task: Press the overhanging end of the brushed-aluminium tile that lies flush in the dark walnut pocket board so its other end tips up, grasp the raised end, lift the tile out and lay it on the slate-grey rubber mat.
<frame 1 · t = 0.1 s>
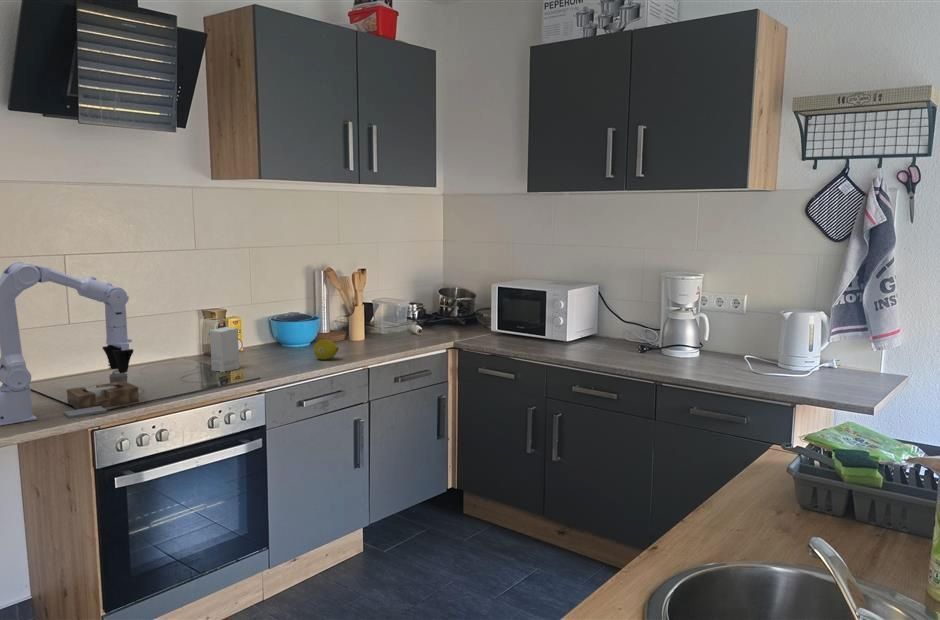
hand: (119, 370, 228), 10 cm above the worktop, tool pointing down, fingers open, 7 cm apart
pocket board: (103, 402, 229), on the worktop
aluminium tile: (101, 396, 229), point 2 cm above the worktop, touching pocket board
lemon: (325, 360, 297), on the worktop
skincare box: (225, 370, 277), on the worktop
light bulb: (119, 390, 245), on the worktop
slate mat: (85, 413, 217), on the worktop
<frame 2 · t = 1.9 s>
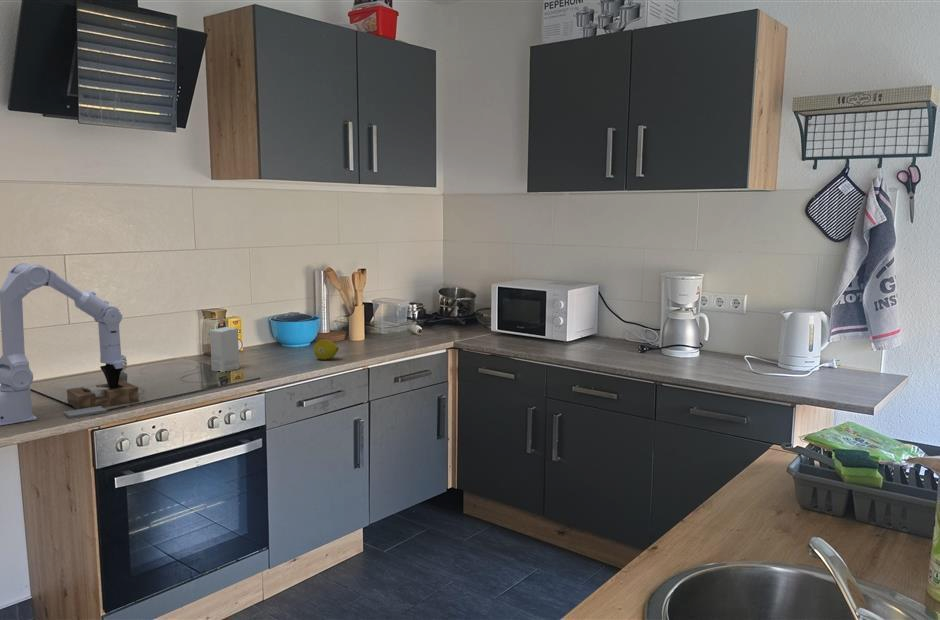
hand: (113, 388, 231), 4 cm above the worktop, tool pointing down, fingers closed, pressing on aluminium tile
aluminium tile: (101, 396, 229), point 2 cm above the worktop, tilted 8°, touching gripper, pocket board
everything else where it was.
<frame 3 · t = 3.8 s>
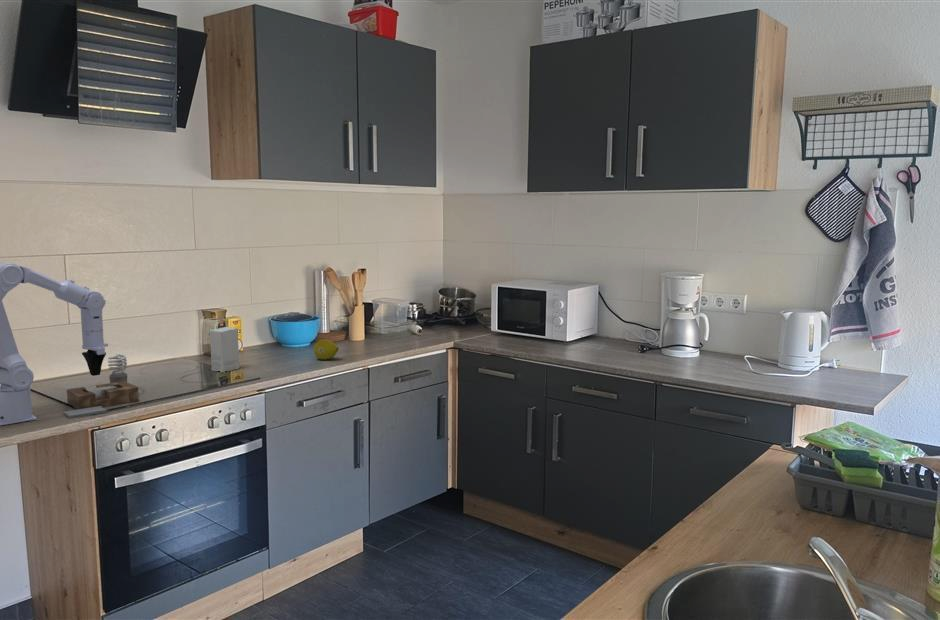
hand: (95, 374, 227), 9 cm above the worktop, tool pointing down, fingers closed
aluminium tile: (101, 396, 229), point 2 cm above the worktop, touching pocket board
everything else where it was.
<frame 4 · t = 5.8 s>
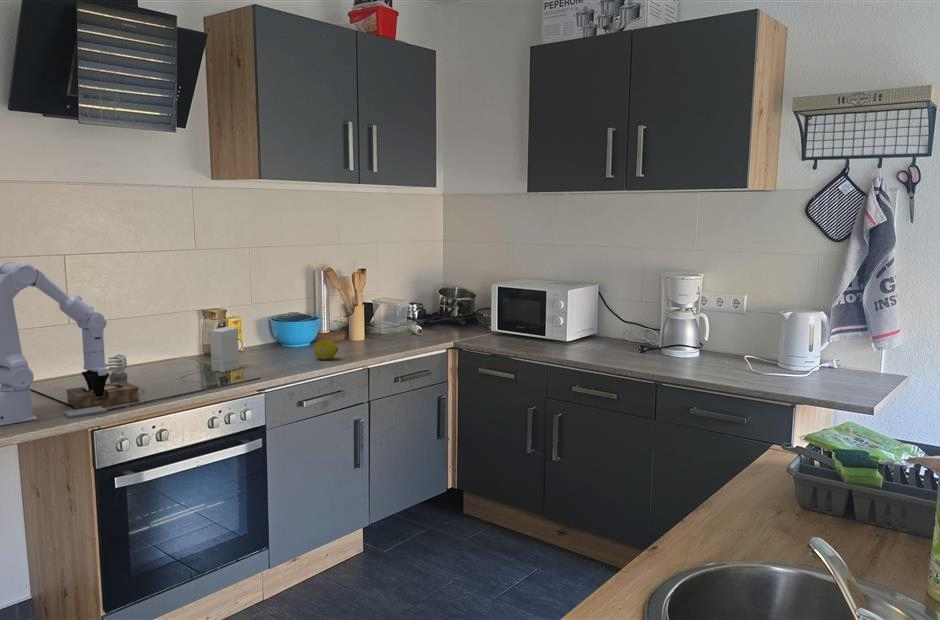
hand: (96, 395, 228), 3 cm above the worktop, tool pointing down, fingers closed on aluminium tile, 4 cm apart
aluminium tile: (101, 396, 229), point 2 cm above the worktop, touching gripper, pocket board
everything else where it was.
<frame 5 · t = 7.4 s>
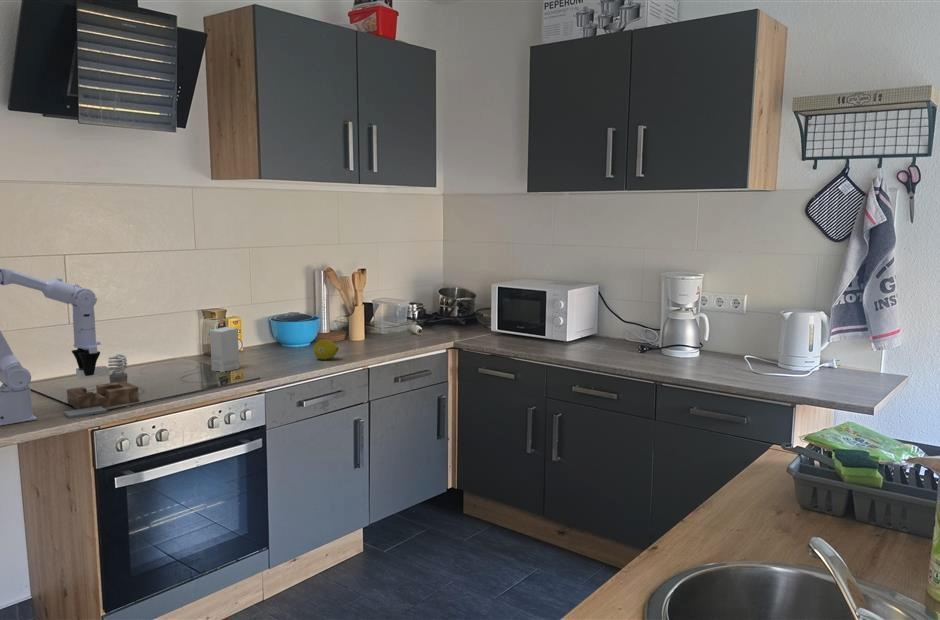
hand: (87, 374, 221), 10 cm above the worktop, tool pointing down, fingers closed on aluminium tile, 4 cm apart
aluminium tile: (92, 376, 222), point 9 cm above the worktop, touching gripper
everything else where it was.
when the fingers open (5 cm above the worktop, at t = 9.2 s): aluminium tile drops 4 cm, resting on slate mat.
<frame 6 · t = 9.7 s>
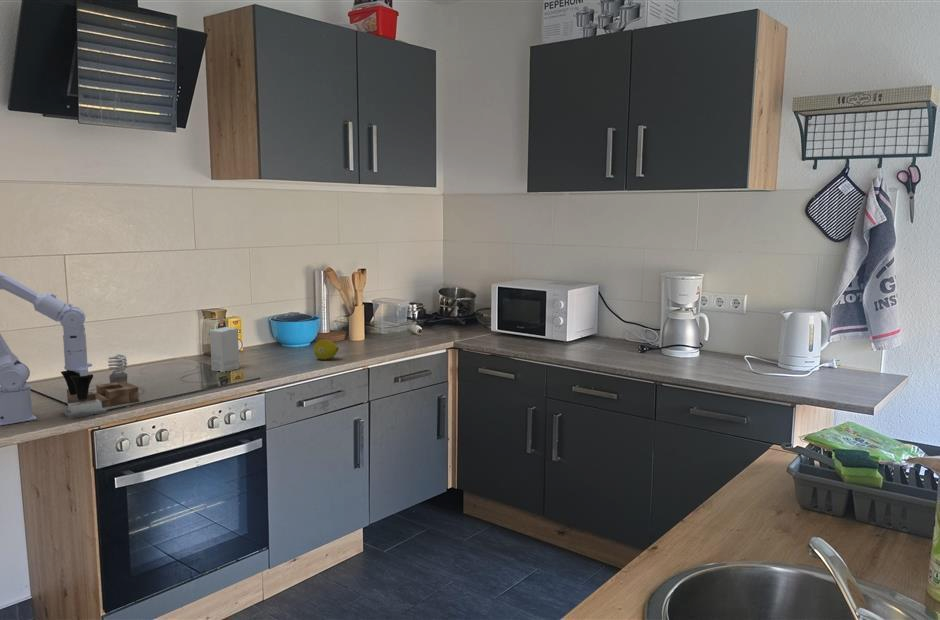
hand: (78, 396, 215), 5 cm above the worktop, tool pointing down, fingers open, 7 cm apart
aluminium tile: (85, 410, 216), point 1 cm above the worktop, touching slate mat
everything else where it was.
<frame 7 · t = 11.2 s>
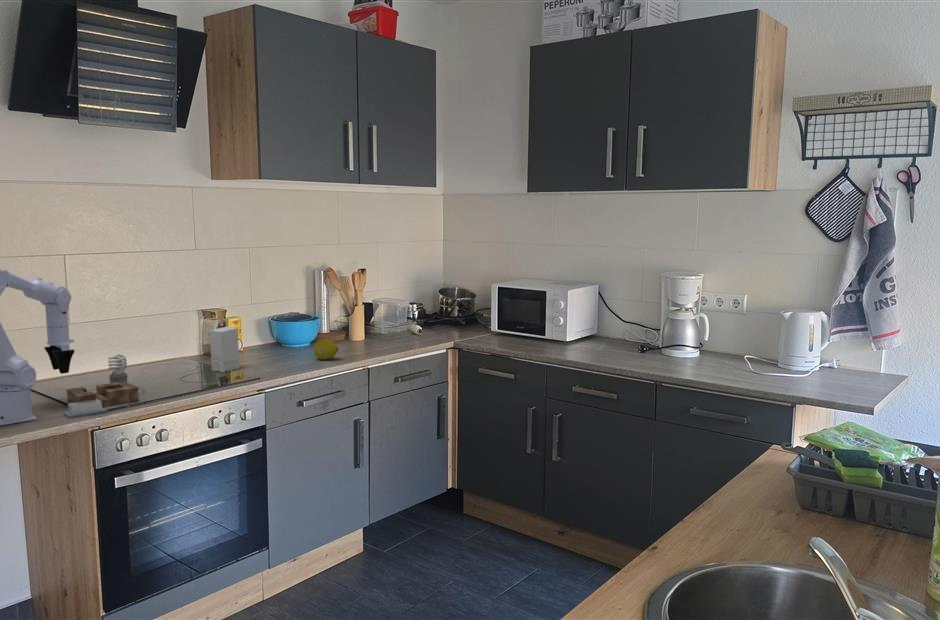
hand: (60, 371, 225), 10 cm above the worktop, tool pointing down, fingers open, 7 cm apart
nothing on the worktop moved.
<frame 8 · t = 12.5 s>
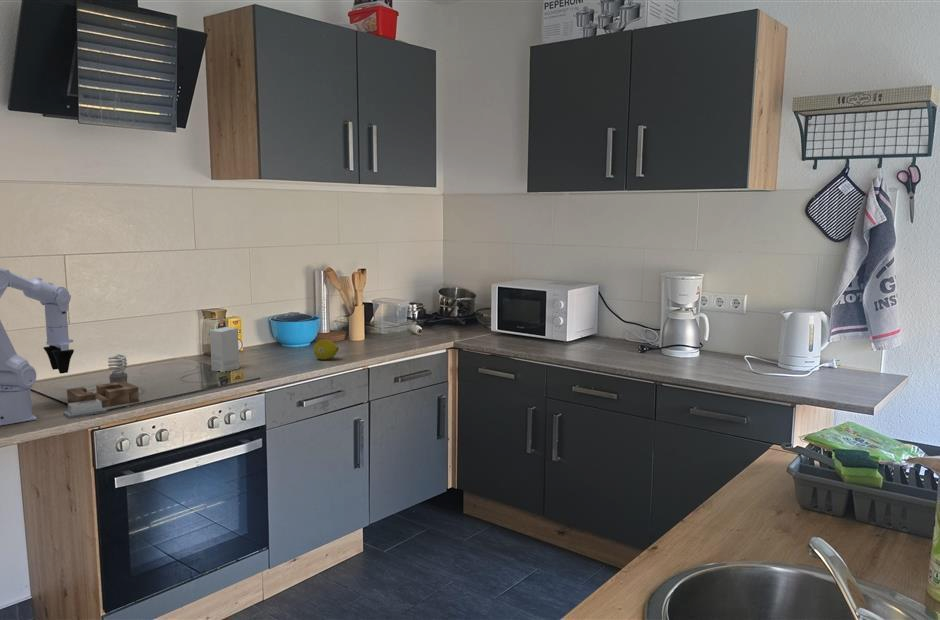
hand: (60, 371, 225), 10 cm above the worktop, tool pointing down, fingers open, 7 cm apart
nothing on the worktop moved.
at the end: aluminium tile inside the target area on the slate mat (0.1 cm from its centre), point 0.8 cm above the slate mat's base; aluminium tile touching slate mat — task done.
